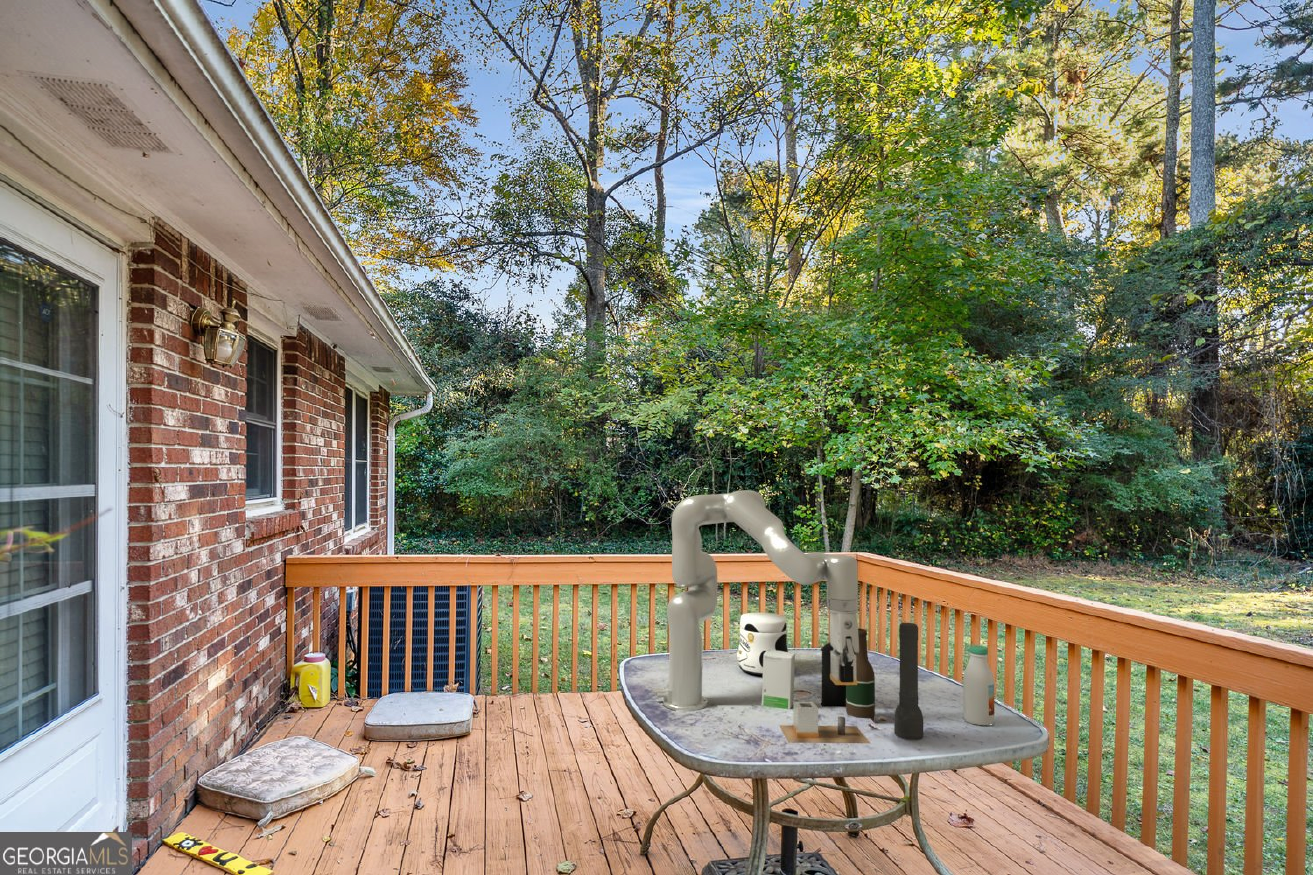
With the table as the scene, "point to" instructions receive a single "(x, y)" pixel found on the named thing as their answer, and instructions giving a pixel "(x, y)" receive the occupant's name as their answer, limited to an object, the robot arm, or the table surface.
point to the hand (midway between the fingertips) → (843, 677)
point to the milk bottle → (978, 688)
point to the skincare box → (778, 679)
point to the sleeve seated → (805, 720)
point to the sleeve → (836, 669)
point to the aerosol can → (830, 682)
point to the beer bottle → (862, 684)
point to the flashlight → (908, 686)
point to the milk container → (760, 639)
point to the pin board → (828, 734)
